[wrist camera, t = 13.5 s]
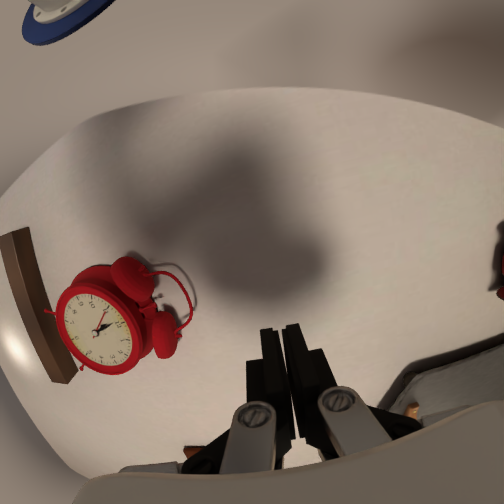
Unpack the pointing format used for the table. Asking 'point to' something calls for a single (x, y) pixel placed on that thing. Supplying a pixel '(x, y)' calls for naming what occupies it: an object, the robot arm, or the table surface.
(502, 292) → the handbag
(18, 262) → the walnut rail
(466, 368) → the serving tray
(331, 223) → the table surface
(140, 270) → the alarm clock
